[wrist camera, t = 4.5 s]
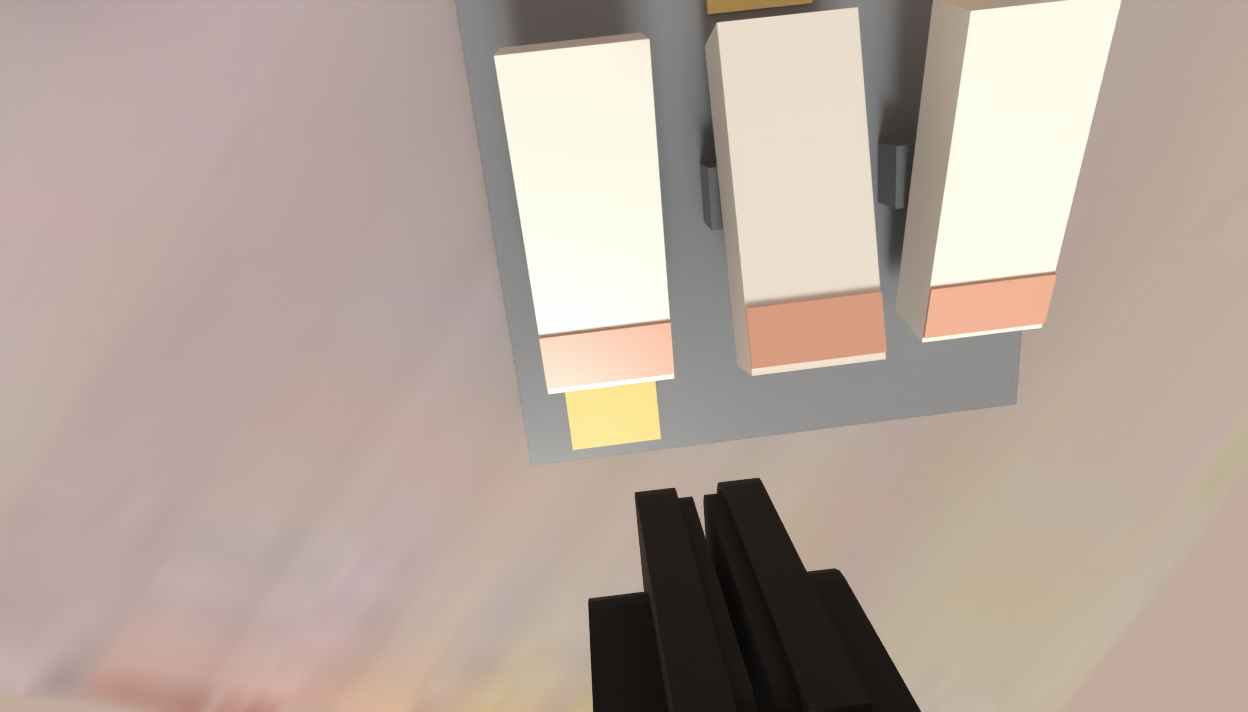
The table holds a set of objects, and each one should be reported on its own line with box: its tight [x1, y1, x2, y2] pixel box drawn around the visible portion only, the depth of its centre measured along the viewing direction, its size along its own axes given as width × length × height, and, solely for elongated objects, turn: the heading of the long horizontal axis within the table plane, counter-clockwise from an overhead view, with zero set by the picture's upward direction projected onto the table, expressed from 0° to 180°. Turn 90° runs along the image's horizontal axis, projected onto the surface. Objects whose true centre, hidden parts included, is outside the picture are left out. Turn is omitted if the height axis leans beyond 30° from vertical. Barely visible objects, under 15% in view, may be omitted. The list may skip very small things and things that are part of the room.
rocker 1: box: [494, 33, 674, 394], centre depth 21 cm, size 9×4×2 cm, turn 6°
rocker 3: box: [895, 0, 1121, 342], centre depth 21 cm, size 9×4×2 cm, turn 6°
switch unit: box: [455, 0, 1022, 466], centre depth 25 cm, size 17×17×5 cm
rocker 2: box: [705, 7, 887, 376], centre depth 21 cm, size 9×4×2 cm, turn 6°
